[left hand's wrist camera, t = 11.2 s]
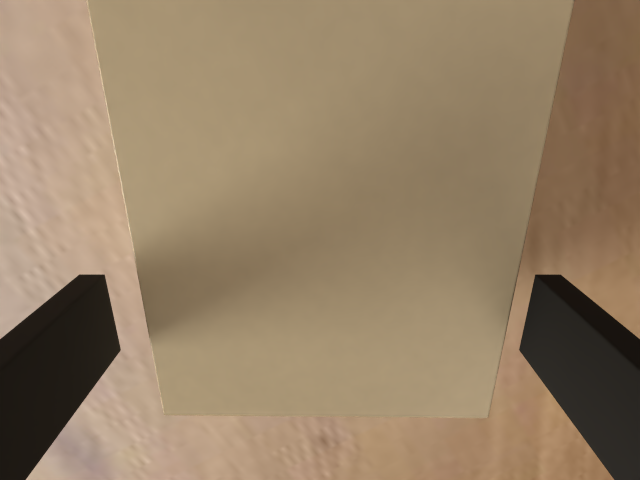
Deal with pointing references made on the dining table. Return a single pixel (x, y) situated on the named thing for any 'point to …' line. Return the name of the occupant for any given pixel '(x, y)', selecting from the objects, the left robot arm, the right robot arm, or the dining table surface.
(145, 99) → the cabinet
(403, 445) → the dining table surface
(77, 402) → the left robot arm
